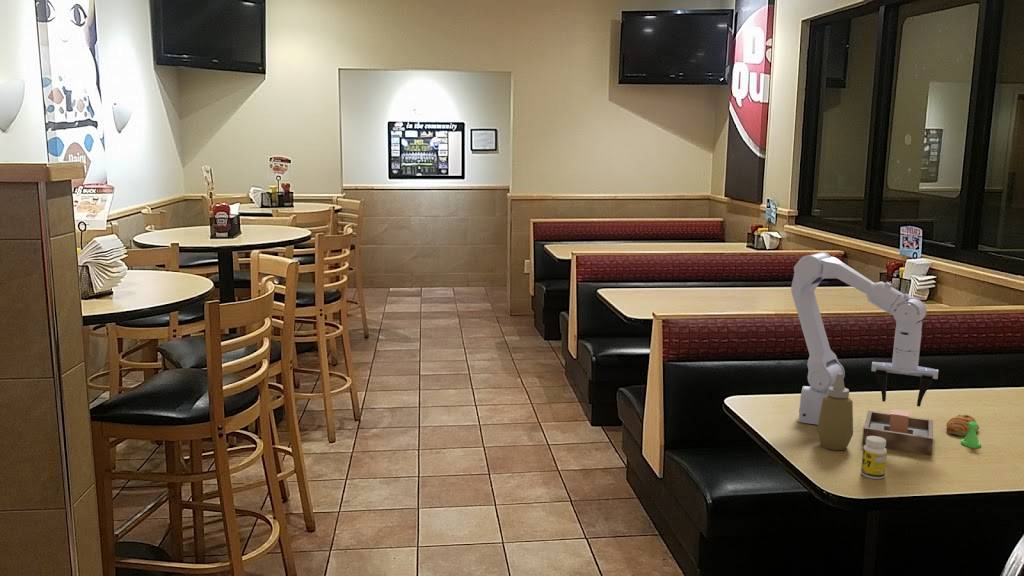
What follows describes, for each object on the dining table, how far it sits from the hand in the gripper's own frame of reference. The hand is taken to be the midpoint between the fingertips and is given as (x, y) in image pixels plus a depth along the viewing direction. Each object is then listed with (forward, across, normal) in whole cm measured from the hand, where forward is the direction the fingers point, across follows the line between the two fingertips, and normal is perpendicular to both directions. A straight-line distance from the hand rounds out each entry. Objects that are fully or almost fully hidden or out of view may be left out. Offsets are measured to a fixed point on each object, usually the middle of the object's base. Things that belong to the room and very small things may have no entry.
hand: (901, 402), depth 199 cm
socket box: (+9, 0, 0) cm, 9 cm away
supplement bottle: (+10, -4, -27) cm, 29 cm away
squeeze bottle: (+10, -13, -13) cm, 21 cm away
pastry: (+10, +14, +15) cm, 23 cm away
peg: (+9, 0, 0) cm, 9 cm away
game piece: (+10, +16, +5) cm, 19 cm away
